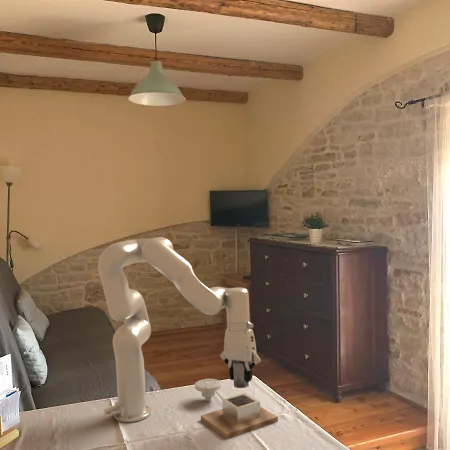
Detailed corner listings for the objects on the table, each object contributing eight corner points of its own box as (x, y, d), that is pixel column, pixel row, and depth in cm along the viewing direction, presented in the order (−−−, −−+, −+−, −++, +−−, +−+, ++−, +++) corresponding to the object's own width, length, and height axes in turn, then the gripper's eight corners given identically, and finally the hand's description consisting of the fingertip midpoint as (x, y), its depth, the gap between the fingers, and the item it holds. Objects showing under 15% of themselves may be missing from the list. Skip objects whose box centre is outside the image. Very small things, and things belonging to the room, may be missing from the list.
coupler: (244, 389, 157) (243, 364, 156) (231, 386, 159) (229, 362, 159) (251, 383, 161) (250, 359, 161) (238, 381, 164) (237, 358, 163)
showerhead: (192, 386, 172) (197, 376, 182) (193, 406, 173) (197, 395, 183) (218, 386, 171) (221, 376, 181) (219, 406, 172) (222, 395, 182)
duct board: (226, 439, 148) (225, 418, 148) (200, 419, 162) (200, 400, 161) (277, 421, 159) (277, 401, 159) (249, 404, 172) (249, 386, 172)
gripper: (266, 325, 158) (269, 379, 159) (221, 320, 167) (224, 372, 168) (256, 331, 152) (259, 388, 153) (210, 326, 160) (213, 380, 161)
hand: (241, 379), depth 160 cm, fingers closed on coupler, 5 cm apart
